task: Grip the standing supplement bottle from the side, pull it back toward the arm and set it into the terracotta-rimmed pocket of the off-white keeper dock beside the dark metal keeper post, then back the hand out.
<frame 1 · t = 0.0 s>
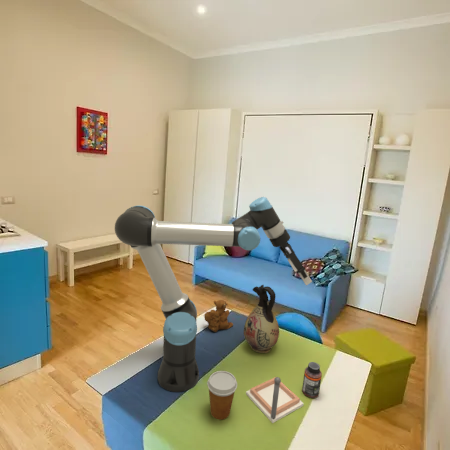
hand: (303, 276, 124), 36 cm above the table, tool tilted 35°, fingers open, 13 cm apart
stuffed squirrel: (217, 327, 149), on the table
supplement bottle: (310, 393, 111), on the table
keeper dock: (274, 399, 107), on the table
ceramic jug: (260, 348, 135), on the table
disposable coffee cup: (220, 412, 100), on the table
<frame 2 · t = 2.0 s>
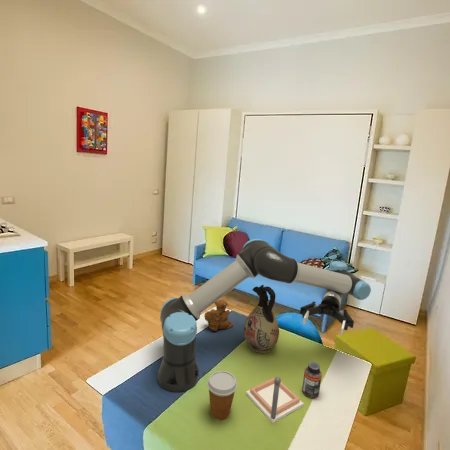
hand: (322, 326, 114), 22 cm above the table, tool horizontal, fingers open, 13 cm apart
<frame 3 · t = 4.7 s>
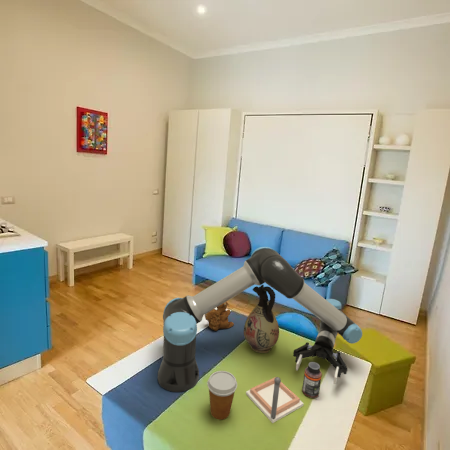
hand: (315, 373, 112), 6 cm above the table, tool horizontal, fingers open, 13 cm apart
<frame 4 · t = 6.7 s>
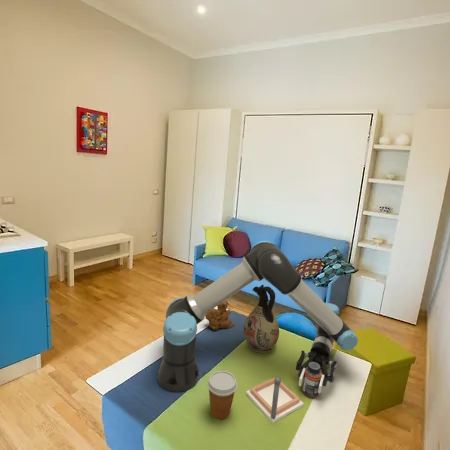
hand: (309, 385, 105), 7 cm above the table, tool horizontal, fingers closed on supplement bottle, 6 cm apart
supplement bottle: (310, 392, 111), on the table, touching gripper
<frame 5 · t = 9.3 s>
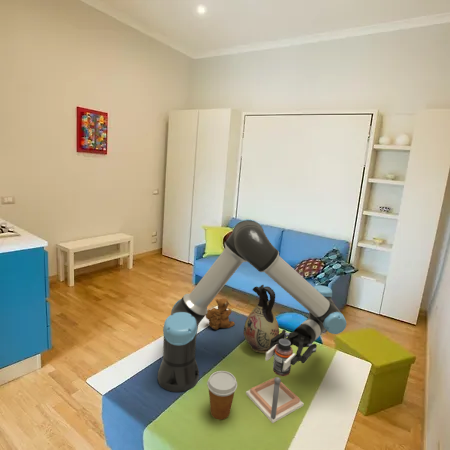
hand: (275, 361, 100), 18 cm above the table, tool horizontal, fingers closed on supplement bottle, 6 cm apart
supplement bottle: (281, 371, 105), point 11 cm above the table, touching gripper
when the fingers open (8 cm above the table, at t = 12.1 s): supplement bottle stays where it is, resting on keeper dock.
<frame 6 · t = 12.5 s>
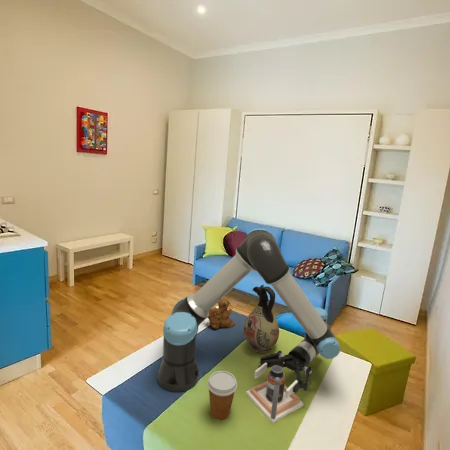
hand: (270, 384, 102), 8 cm above the table, tool horizontal, fingers open, 11 cm apart
supplement bottle: (273, 397, 107), point 1 cm above the table, touching keeper dock
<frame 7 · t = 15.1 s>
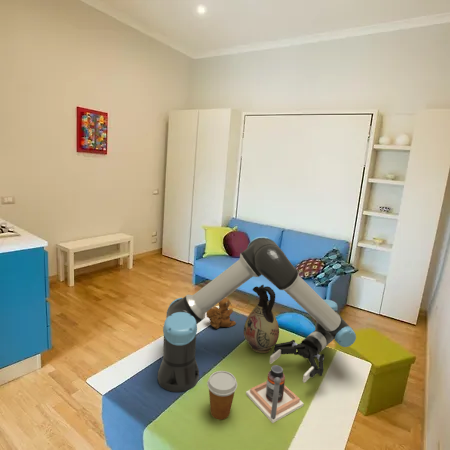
hand: (286, 369, 110), 9 cm above the table, tool horizontal, fingers open, 13 cm apart
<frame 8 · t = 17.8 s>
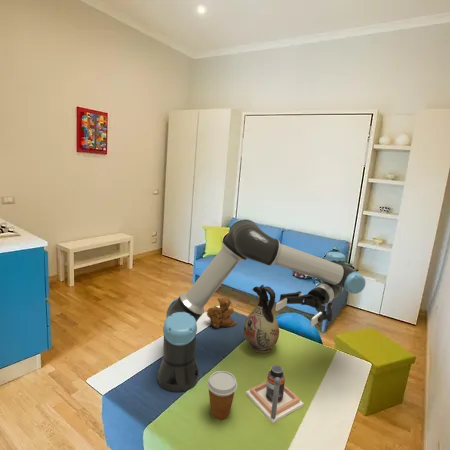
hand: (293, 314, 105), 30 cm above the table, tool horizontal, fingers open, 13 cm apart
at the end: supplement bottle inside the target area on the keeper dock (0.1 cm from its centre), point 0.8 cm above the keeper dock's base; supplement bottle tilted 0°; the gripper is holding nothing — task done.
